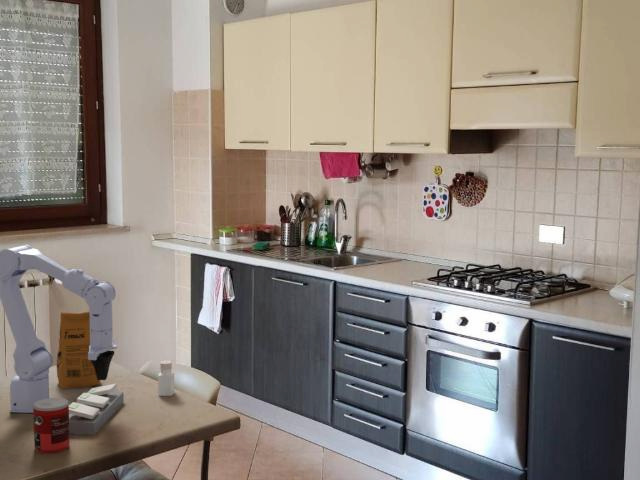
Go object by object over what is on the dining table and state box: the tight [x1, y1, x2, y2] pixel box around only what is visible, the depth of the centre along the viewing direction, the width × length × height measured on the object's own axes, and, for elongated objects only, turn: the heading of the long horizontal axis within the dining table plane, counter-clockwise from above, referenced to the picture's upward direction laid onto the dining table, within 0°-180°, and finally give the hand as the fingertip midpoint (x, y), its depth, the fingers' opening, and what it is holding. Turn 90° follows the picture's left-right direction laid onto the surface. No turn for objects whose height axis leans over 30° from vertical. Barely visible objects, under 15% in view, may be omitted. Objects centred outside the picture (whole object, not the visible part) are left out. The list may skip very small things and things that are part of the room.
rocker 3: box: [69, 401, 100, 420], centre depth 200 cm, size 7×5×2 cm
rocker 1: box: [87, 383, 118, 396], centre depth 216 cm, size 7×5×2 cm
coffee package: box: [56, 310, 101, 390], centre depth 234 cm, size 10×12×22 cm
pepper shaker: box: [157, 360, 175, 397], centre depth 227 cm, size 4×4×10 cm
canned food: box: [32, 397, 71, 454], centre depth 187 cm, size 8×8×11 cm
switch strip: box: [69, 391, 125, 435], centre depth 210 cm, size 9×28×3 cm, turn 177°
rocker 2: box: [76, 392, 109, 408], centre depth 208 cm, size 7×5×2 cm
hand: (102, 379), depth 209 cm, fingers closed
